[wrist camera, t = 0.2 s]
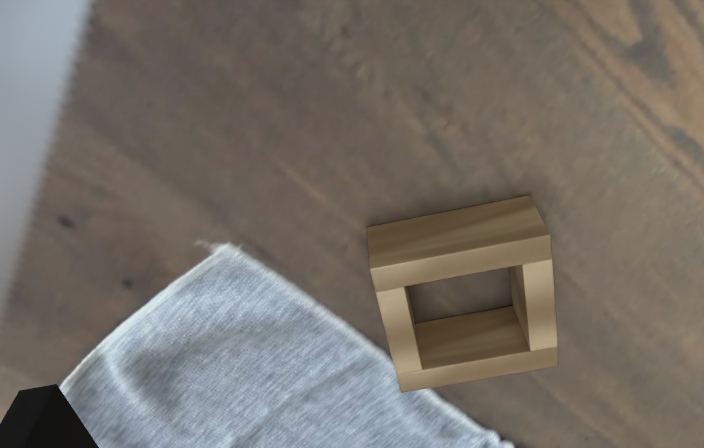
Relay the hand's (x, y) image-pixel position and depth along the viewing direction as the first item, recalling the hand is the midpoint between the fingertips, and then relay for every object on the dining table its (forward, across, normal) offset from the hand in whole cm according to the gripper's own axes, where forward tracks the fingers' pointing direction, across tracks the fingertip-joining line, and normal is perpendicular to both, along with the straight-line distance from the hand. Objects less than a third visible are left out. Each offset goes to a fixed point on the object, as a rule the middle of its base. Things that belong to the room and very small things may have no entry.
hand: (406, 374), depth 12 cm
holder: (+20, +3, -14) cm, 25 cm away
